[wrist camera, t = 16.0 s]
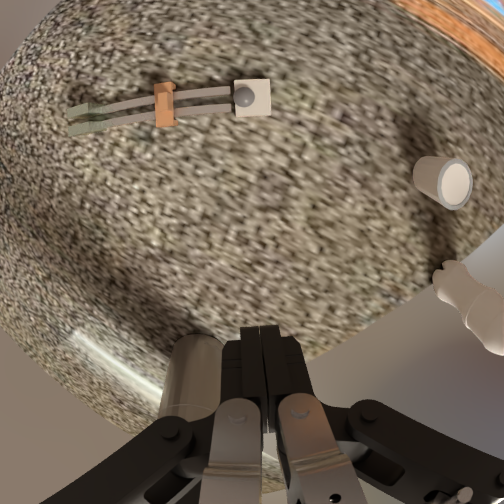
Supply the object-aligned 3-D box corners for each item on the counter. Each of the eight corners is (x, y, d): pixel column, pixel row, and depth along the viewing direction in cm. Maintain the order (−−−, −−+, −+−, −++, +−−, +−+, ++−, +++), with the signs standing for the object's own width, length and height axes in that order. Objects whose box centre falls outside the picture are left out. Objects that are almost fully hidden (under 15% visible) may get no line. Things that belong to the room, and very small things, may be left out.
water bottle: (449, 247, 41) (552, 331, 18) (462, 271, 43) (550, 353, 20) (421, 277, 43) (514, 376, 20) (436, 299, 45) (517, 392, 22)
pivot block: (267, 81, 31) (270, 78, 28) (269, 115, 32) (271, 114, 30) (232, 82, 31) (232, 79, 28) (234, 117, 32) (234, 116, 30)
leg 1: (230, 85, 31) (229, 77, 26) (230, 95, 31) (229, 89, 27) (85, 110, 30) (66, 108, 26) (86, 119, 31) (67, 119, 26)
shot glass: (401, 179, 36) (429, 190, 30) (424, 142, 34) (454, 147, 28) (428, 205, 38) (456, 220, 32) (450, 171, 36) (479, 180, 29)
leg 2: (231, 104, 32) (230, 100, 27) (231, 114, 32) (230, 111, 28) (86, 125, 31) (67, 126, 26) (87, 134, 31) (68, 136, 27)
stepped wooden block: (175, 85, 30) (166, 77, 25) (178, 125, 32) (168, 124, 27) (160, 87, 30) (148, 81, 25) (162, 127, 32) (150, 127, 27)
